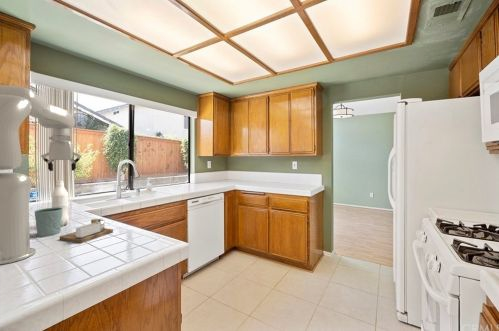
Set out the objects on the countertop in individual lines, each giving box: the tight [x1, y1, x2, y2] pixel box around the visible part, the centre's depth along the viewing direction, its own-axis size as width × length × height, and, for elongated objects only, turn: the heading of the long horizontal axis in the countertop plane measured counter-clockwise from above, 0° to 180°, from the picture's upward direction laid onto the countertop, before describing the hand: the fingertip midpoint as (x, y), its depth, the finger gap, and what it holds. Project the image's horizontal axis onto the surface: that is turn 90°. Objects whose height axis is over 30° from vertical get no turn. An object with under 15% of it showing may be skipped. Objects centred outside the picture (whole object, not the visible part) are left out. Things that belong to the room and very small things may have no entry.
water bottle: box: [51, 179, 70, 227], centre depth 124 cm, size 7×7×25 cm
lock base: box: [59, 218, 114, 244], centre depth 107 cm, size 15×14×6 cm
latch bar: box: [75, 218, 106, 238], centre depth 105 cm, size 12×4×5 cm, turn 161°
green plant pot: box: [34, 207, 62, 238], centre depth 110 cm, size 10×10×12 cm
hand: (62, 170), depth 123 cm, fingers open, 9 cm apart
